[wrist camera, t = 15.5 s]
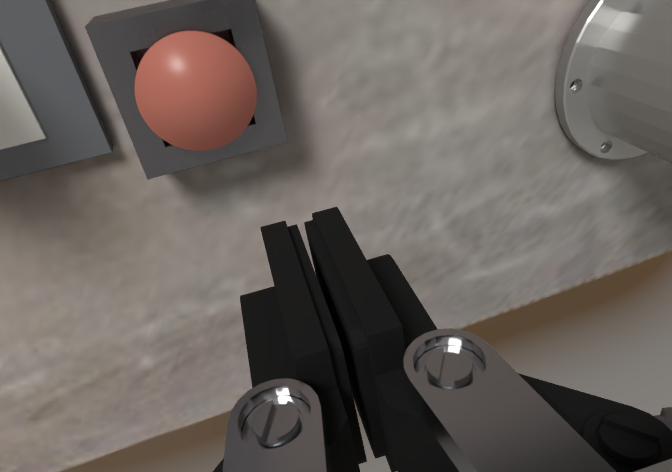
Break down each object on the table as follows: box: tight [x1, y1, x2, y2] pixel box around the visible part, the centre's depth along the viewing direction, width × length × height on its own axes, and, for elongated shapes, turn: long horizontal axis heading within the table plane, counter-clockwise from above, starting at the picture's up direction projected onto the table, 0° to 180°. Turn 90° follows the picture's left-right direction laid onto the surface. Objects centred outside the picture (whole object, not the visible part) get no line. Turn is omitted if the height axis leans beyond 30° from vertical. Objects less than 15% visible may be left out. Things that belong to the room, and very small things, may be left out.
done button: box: [135, 30, 257, 151], centre depth 24 cm, size 5×5×3 cm
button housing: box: [85, 0, 288, 179], centre depth 24 cm, size 7×7×3 cm
